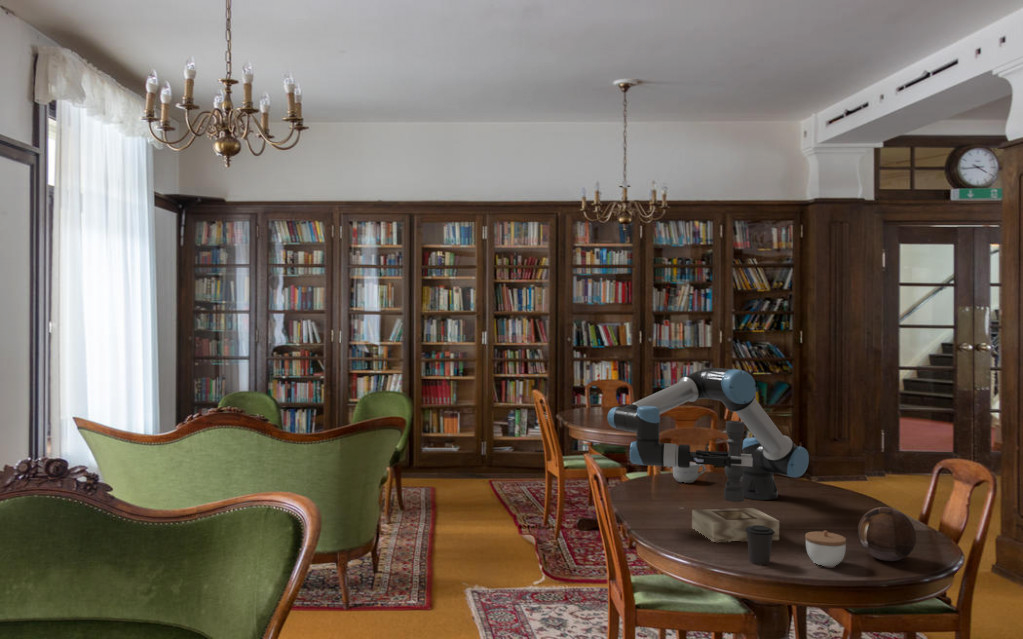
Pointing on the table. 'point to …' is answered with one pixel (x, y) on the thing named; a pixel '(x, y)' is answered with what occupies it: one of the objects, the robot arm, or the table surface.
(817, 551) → the lidded jar
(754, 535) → the coffee cup
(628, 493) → the table surface
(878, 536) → the clear glass sphere
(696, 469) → the teacup
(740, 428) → the candle holder
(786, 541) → the table surface
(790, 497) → the table surface
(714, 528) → the socket block
